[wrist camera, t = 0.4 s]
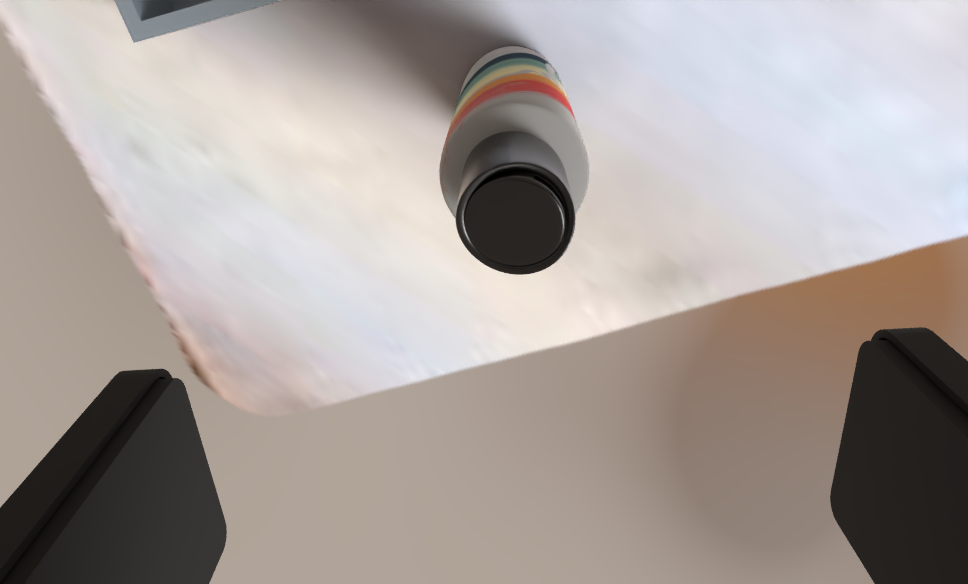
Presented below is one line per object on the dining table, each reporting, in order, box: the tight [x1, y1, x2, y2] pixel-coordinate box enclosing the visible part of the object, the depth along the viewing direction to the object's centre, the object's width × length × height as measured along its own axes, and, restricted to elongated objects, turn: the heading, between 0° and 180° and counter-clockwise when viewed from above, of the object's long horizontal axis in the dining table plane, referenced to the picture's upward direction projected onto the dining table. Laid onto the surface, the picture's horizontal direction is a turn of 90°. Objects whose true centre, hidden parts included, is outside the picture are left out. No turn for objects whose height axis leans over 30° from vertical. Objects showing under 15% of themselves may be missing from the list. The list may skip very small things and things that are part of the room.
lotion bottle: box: [440, 46, 589, 275], centre depth 31 cm, size 6×6×20 cm
